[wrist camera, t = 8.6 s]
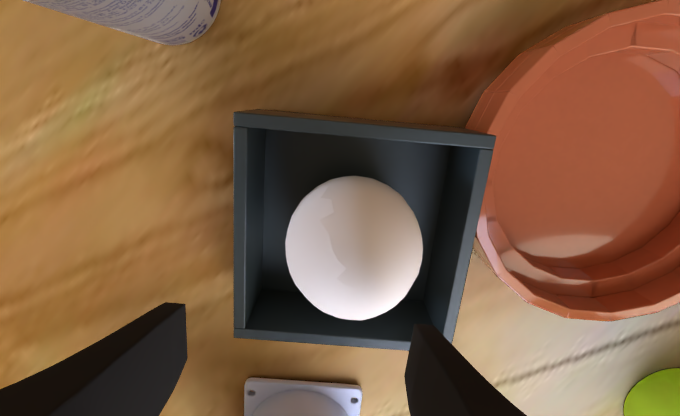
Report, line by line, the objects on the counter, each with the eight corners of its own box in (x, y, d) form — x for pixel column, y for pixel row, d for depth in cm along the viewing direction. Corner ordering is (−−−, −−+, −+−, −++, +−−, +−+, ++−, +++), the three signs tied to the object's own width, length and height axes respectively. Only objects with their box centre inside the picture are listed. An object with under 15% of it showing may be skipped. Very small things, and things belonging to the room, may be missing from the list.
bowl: (667, 296, 22) (725, 330, 19) (431, 277, 22) (447, 309, 19) (775, 34, 18) (875, 18, 15) (480, 4, 17) (514, -19, 14)
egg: (315, 280, 21) (301, 378, 14) (280, 182, 20) (242, 233, 12) (417, 253, 21) (461, 339, 13) (391, 149, 19) (424, 181, 12)
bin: (429, 305, 23) (450, 354, 18) (253, 292, 22) (233, 338, 18) (462, 127, 19) (497, 135, 15) (257, 109, 19) (233, 111, 15)
